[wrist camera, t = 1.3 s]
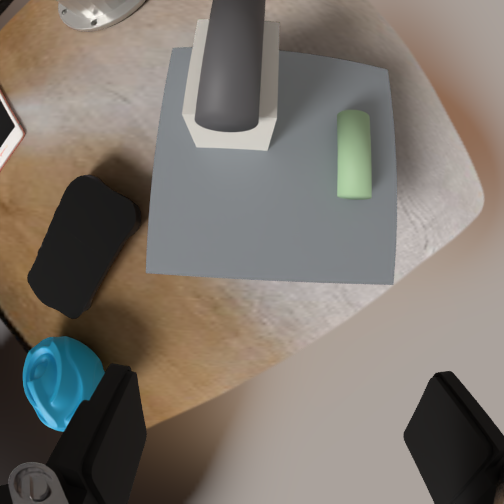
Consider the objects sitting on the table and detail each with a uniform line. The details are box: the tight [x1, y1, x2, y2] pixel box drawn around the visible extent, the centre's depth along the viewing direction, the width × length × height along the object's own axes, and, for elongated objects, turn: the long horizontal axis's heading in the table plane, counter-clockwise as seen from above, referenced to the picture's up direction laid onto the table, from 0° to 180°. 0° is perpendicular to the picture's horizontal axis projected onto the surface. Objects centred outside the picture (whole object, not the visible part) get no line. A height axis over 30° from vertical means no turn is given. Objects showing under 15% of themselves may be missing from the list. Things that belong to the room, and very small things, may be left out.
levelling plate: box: [146, 0, 397, 285], centre depth 18 cm, size 18×18×12 cm
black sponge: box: [27, 175, 141, 319], centre depth 31 cm, size 16×8×4 cm, turn 141°
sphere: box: [23, 336, 105, 432], centre depth 31 cm, size 12×11×12 cm
